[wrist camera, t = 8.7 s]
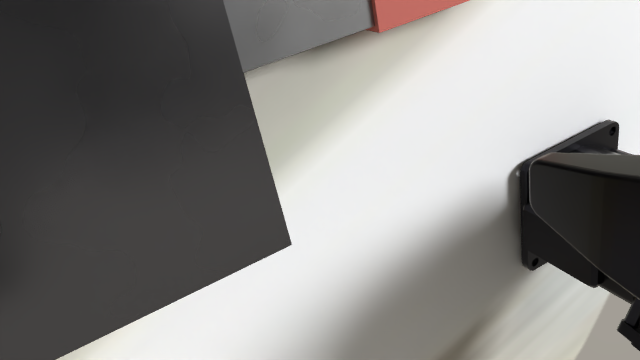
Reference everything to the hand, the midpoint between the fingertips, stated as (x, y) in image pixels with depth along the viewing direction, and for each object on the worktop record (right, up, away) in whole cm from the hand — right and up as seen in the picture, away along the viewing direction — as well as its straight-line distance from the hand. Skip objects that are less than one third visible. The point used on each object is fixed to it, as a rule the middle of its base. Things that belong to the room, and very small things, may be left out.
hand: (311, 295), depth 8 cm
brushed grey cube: (-7, +4, +5) cm, 9 cm away
